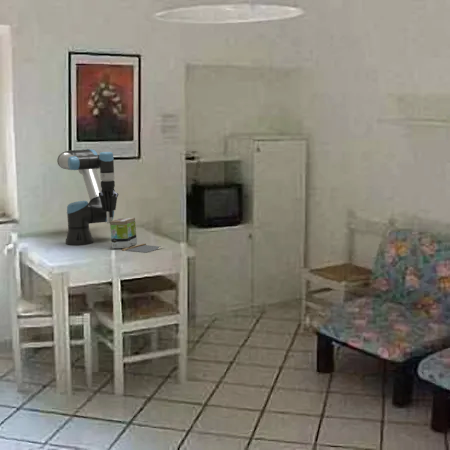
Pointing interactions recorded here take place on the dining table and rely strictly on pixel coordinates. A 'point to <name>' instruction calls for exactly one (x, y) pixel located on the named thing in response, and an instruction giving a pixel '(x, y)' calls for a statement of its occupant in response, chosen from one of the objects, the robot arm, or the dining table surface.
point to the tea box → (123, 232)
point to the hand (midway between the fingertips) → (109, 223)
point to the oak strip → (132, 247)
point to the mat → (144, 248)
